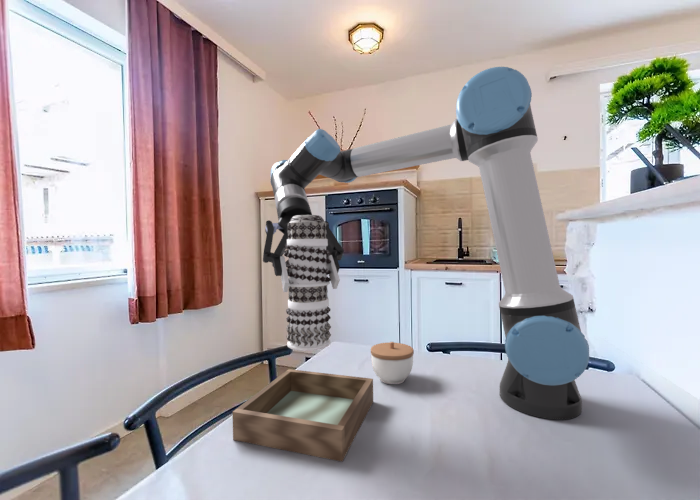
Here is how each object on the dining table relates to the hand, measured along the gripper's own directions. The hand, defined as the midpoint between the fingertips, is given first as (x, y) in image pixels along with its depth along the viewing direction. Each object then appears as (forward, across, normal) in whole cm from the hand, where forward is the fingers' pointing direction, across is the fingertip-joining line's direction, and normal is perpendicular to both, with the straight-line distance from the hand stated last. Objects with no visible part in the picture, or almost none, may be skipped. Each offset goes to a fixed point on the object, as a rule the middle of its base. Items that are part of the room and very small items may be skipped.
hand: (312, 285), depth 61 cm
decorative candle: (+6, 0, -11) cm, 12 cm away
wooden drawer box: (+17, 0, -21) cm, 27 cm away
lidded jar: (+9, -24, -28) cm, 38 cm away
